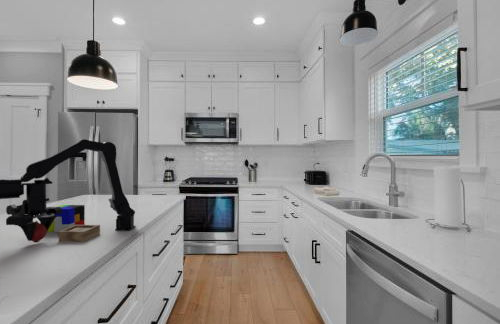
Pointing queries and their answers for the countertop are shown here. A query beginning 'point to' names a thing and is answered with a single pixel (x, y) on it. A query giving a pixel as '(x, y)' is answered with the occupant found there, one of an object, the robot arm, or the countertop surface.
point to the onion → (39, 232)
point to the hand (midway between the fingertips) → (36, 238)
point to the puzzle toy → (68, 217)
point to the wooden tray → (79, 233)
